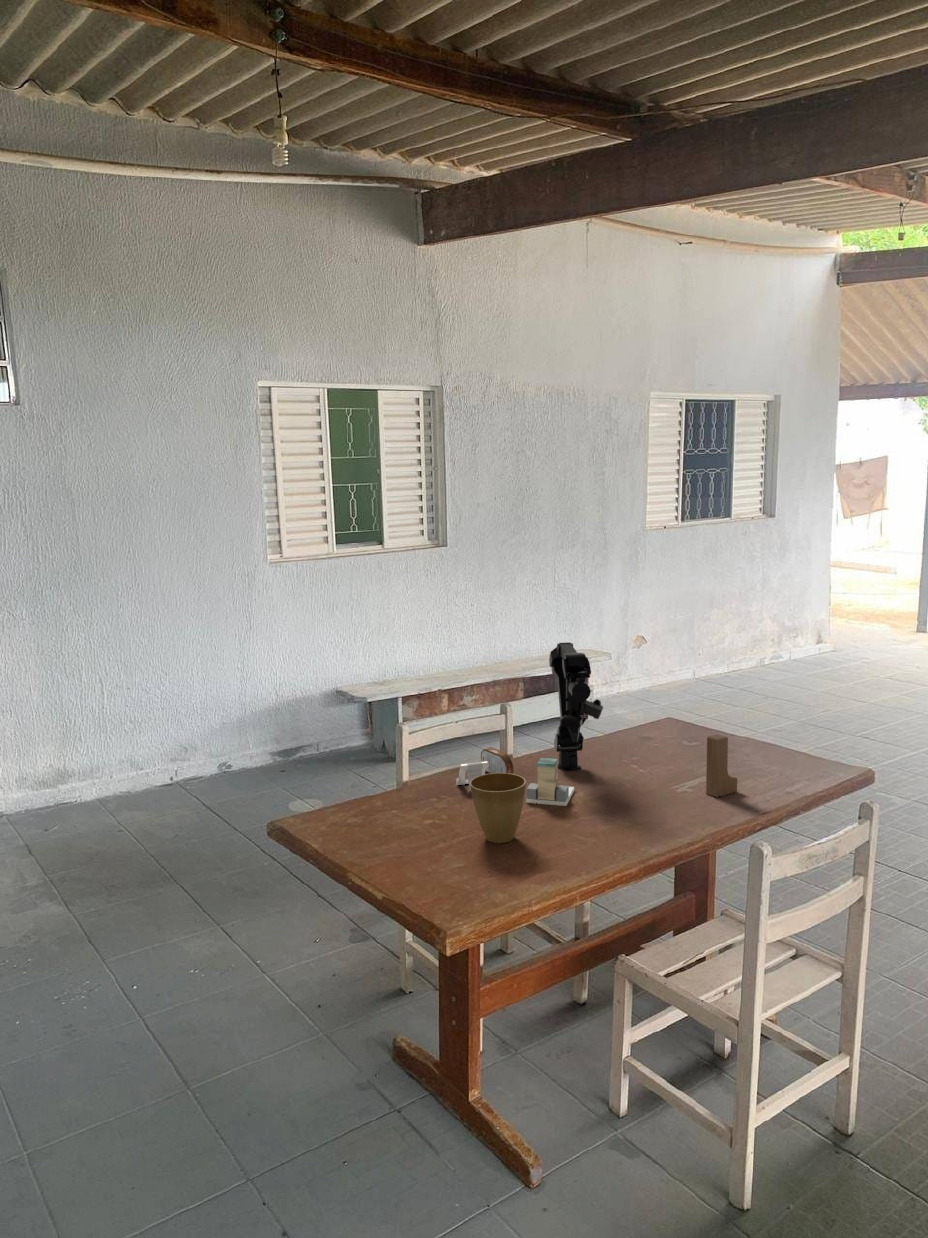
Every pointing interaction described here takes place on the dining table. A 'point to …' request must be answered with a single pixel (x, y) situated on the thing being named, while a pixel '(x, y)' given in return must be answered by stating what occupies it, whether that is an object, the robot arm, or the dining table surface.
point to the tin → (497, 761)
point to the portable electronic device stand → (471, 772)
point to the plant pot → (498, 804)
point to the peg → (547, 778)
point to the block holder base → (561, 799)
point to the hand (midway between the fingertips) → (575, 741)
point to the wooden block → (718, 767)
